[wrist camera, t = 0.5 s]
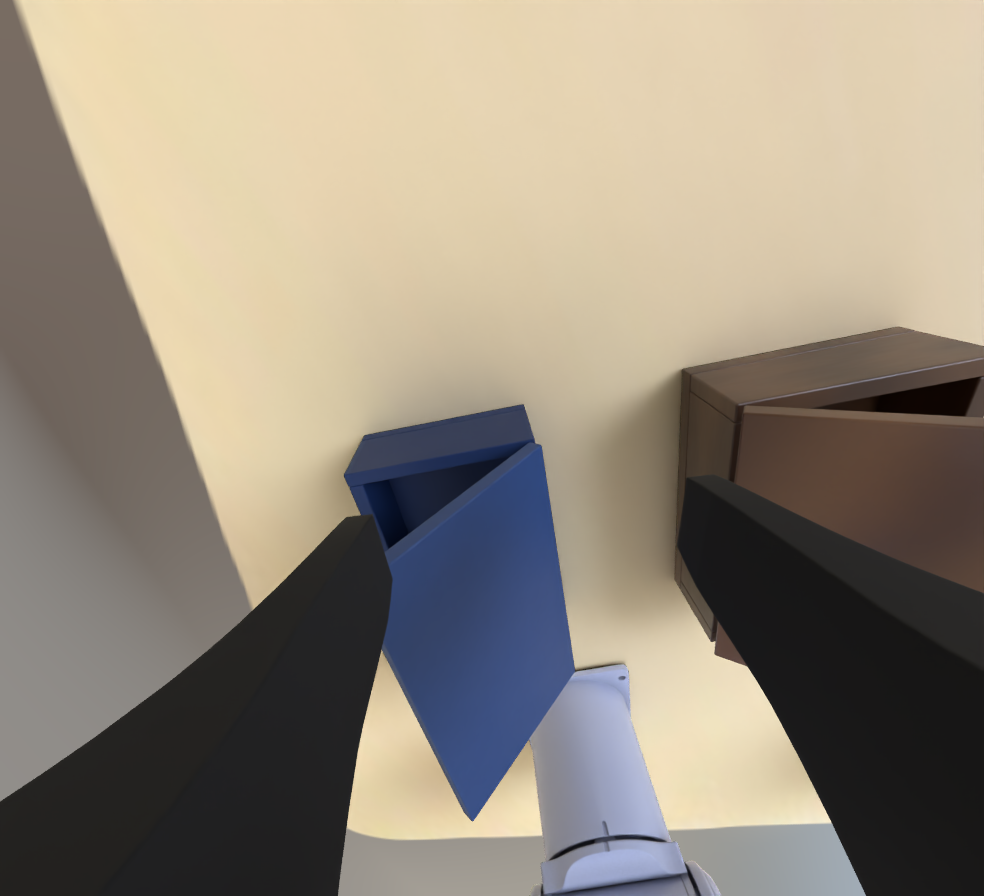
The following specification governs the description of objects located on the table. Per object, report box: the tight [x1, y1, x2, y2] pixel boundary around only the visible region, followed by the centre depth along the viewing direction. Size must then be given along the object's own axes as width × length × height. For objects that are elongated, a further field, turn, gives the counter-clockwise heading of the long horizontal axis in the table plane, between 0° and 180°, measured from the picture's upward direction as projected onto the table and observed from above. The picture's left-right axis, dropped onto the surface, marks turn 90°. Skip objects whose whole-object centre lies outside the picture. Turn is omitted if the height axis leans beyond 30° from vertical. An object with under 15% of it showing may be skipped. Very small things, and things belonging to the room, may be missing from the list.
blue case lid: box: [382, 443, 575, 821], centre depth 16 cm, size 8×14×1 cm
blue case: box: [344, 404, 535, 552], centre depth 21 cm, size 8×14×4 cm, turn 11°
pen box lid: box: [714, 406, 984, 666], centre depth 15 cm, size 10×14×1 cm
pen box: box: [675, 327, 984, 642], centre depth 20 cm, size 10×14×4 cm
